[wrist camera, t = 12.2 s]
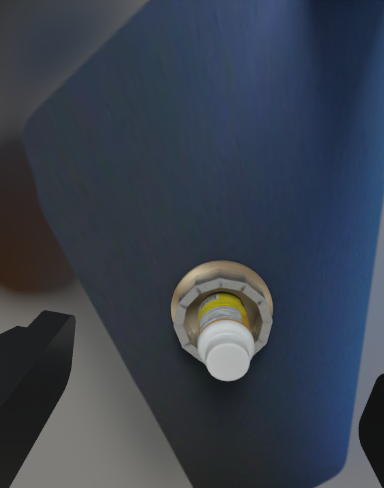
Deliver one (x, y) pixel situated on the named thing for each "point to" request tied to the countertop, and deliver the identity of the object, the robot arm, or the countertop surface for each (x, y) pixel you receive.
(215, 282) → the white beige low ring
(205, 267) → the beige round plate
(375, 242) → the countertop surface
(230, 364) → the supplement bottle
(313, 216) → the countertop surface
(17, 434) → the robot arm
